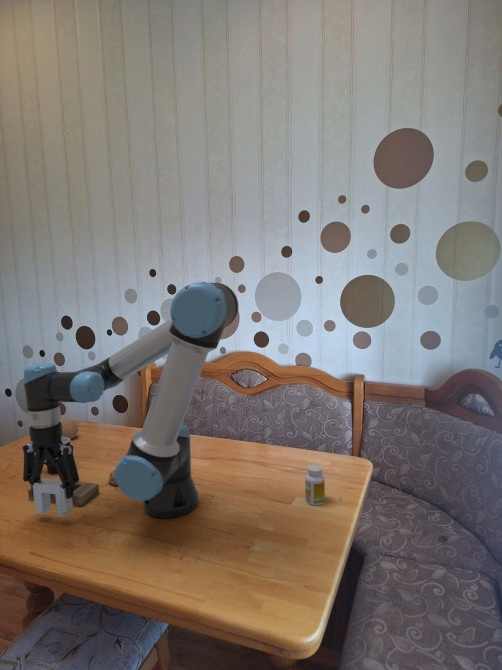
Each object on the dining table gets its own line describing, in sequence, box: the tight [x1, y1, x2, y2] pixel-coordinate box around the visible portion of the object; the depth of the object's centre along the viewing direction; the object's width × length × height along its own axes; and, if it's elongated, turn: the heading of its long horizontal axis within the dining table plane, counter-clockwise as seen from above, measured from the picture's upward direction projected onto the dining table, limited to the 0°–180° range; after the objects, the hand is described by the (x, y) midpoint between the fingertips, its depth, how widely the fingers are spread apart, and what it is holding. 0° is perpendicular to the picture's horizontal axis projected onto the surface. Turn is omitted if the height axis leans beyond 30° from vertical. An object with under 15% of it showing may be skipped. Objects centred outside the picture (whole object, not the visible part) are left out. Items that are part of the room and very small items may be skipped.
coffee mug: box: [44, 436, 71, 475], centre depth 143 cm, size 12×9×10 cm
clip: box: [34, 477, 72, 518], centre depth 111 cm, size 8×3×8 cm, turn 75°
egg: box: [62, 418, 79, 440], centre depth 172 cm, size 6×6×8 cm
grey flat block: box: [27, 477, 100, 508], centre depth 124 cm, size 18×8×3 cm, turn 75°
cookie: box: [108, 469, 119, 487], centre depth 135 cm, size 10×11×3 cm
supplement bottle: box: [304, 464, 326, 506], centre depth 119 cm, size 5×5×10 cm
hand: (53, 507), depth 111 cm, fingers closed on clip, 8 cm apart
